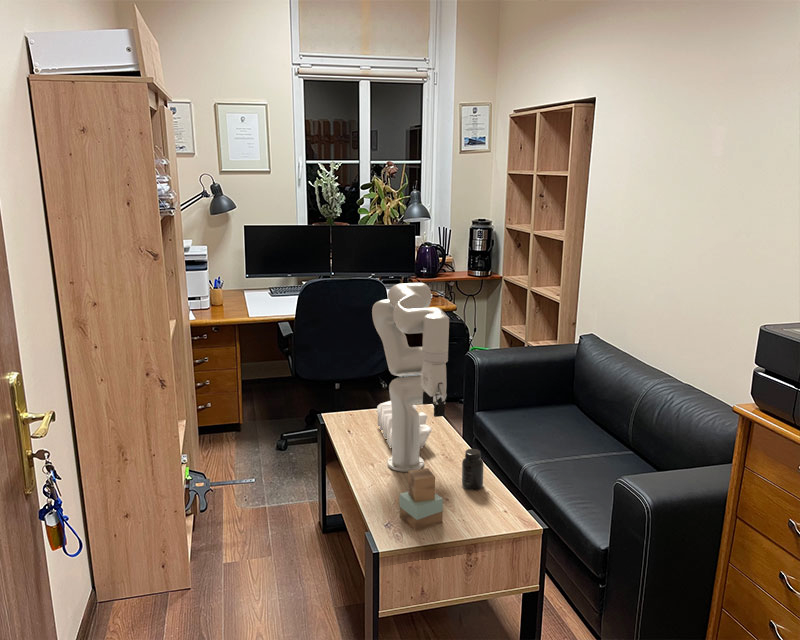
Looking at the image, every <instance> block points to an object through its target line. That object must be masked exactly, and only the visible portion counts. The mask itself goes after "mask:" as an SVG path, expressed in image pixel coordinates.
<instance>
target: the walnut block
mask: <svg viewBox="0 0 800 640" xmlns="http://www.w3.org/2000/svg"><path fill="white" fill-rule="evenodd" d="M407 473H408V475H407V477H408V480H407V481H408V482H407V483H408V485H407V486H408V487H407V488H408V489H407V492H408V493H409V495H410V496H411V498H412V499H413V500H414V502H415V503H416V502H422V501H428V500H435V493H436V476H435V474H434V473H433V472H432V471H431V470H430V469H429V468H428V467H426V468H421V469H417V470H410V471H408V472H407Z"/></svg>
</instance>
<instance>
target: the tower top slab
mask: <svg viewBox="0 0 800 640" xmlns="http://www.w3.org/2000/svg"><path fill="white" fill-rule="evenodd" d="M398 495H399V499H398V500H399V508H400V507H401V508H402V509H403V510H405V511H406V512H407V513H408V514H410V515H411V516H412V517H414V518H415V519H416V520H419V519H421V518H424V517H427V516H430V515H433V514H436V513H439V512H442V511H443V509H444V508H443V507H444V504H443V503H444V498H443V497H442V496H440V495H438V494H437V493H436V492H435V500H428V501H422V502H416V503H415V502H414V500H413V499H412V498H411V496H410V495H409V493H408V491H405V492H401V493H399V494H398Z"/></svg>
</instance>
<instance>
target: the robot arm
mask: <svg viewBox="0 0 800 640" xmlns="http://www.w3.org/2000/svg"><path fill="white" fill-rule="evenodd" d="M431 302H432V291H431V288H430V286H429V285H427V283H424V282H407V283H398V284H394V285H392V286H391V287H390V288H389V290H388V292H387V298H386V299H381V300H378V301H376V302H375V303H374V304H373V305H372V309H371V311H372V312H371V314H372V315H371V316H372V322H373V325H374V328H375V329H376V332H377V334H378V335H379V337H380V340H381V342H382V345H383V350H384V354H385V358H386V363H387V367H388V371H389V372H390V374H391V375H393V376H397V377H396V378H394V379H392V380H391V382H390V383H389V385H388V389H389V390H388V391H389V399H390V401H391V406H392V449H391V457H389V458H388V459H387V466H388V467H389V468H390V469H391V470H394V471H397V472H400V473H408V471H410V470H417V469H423V467H424V466H425V465H424V464H425V461H424V459H423V458H422V457H421V456H420V450H421V449H420V417H419V411H417V409H416V410H415V409H414V408H413V405H418V404H422V405H432V404H433V417H435V418H437V417H438V418H440V417H444V416H445V415H446V414H445V412H446V411H445V409H446V401H447V396H448V395H447V365H446V363H448V361H449V338H450V337H449V335H450V333H449V332H450V331H449V330H450V318H449V316H447V314H446V313H445V312H444V311H443V310H442V308H440V307H435V306H434V307H433V306H432V307H430V306H431ZM406 334H408V335H411V334H412V335H413V334H422V346H409V344H408V339H407V336H406ZM399 376H401V377H399Z"/></svg>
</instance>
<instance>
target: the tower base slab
mask: <svg viewBox="0 0 800 640" xmlns="http://www.w3.org/2000/svg"><path fill="white" fill-rule="evenodd" d="M443 514H444V513H443V511H442V512H439V513H436V514H433V515H430V516H427V517H424V518H421V519H419V520H416V519H415V518H414V517H412V516H411V515H410V514H408V513H407V512H406V511H405V510H403V509H402V508H401V507H399V518H400V519H401V520H402V521H403V522H404V523H406V524H407V525H408V526H409V527H410V528H411V529H413V531H416V532H420V531H421V530H425V529H428V528H431V527H434V526H437V525H440V524H443V520H444V519H443V517H444V516H443Z"/></svg>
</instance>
